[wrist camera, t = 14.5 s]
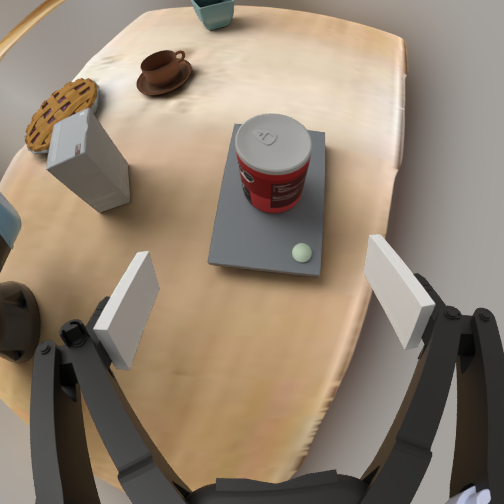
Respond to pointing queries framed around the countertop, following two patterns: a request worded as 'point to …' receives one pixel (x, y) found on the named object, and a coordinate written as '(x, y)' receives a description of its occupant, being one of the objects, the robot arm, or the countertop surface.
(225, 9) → the flower pot
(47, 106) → the pie
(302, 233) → the plate
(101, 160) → the skincare box
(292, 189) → the canned food
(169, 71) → the cup and saucer
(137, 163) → the countertop surface
